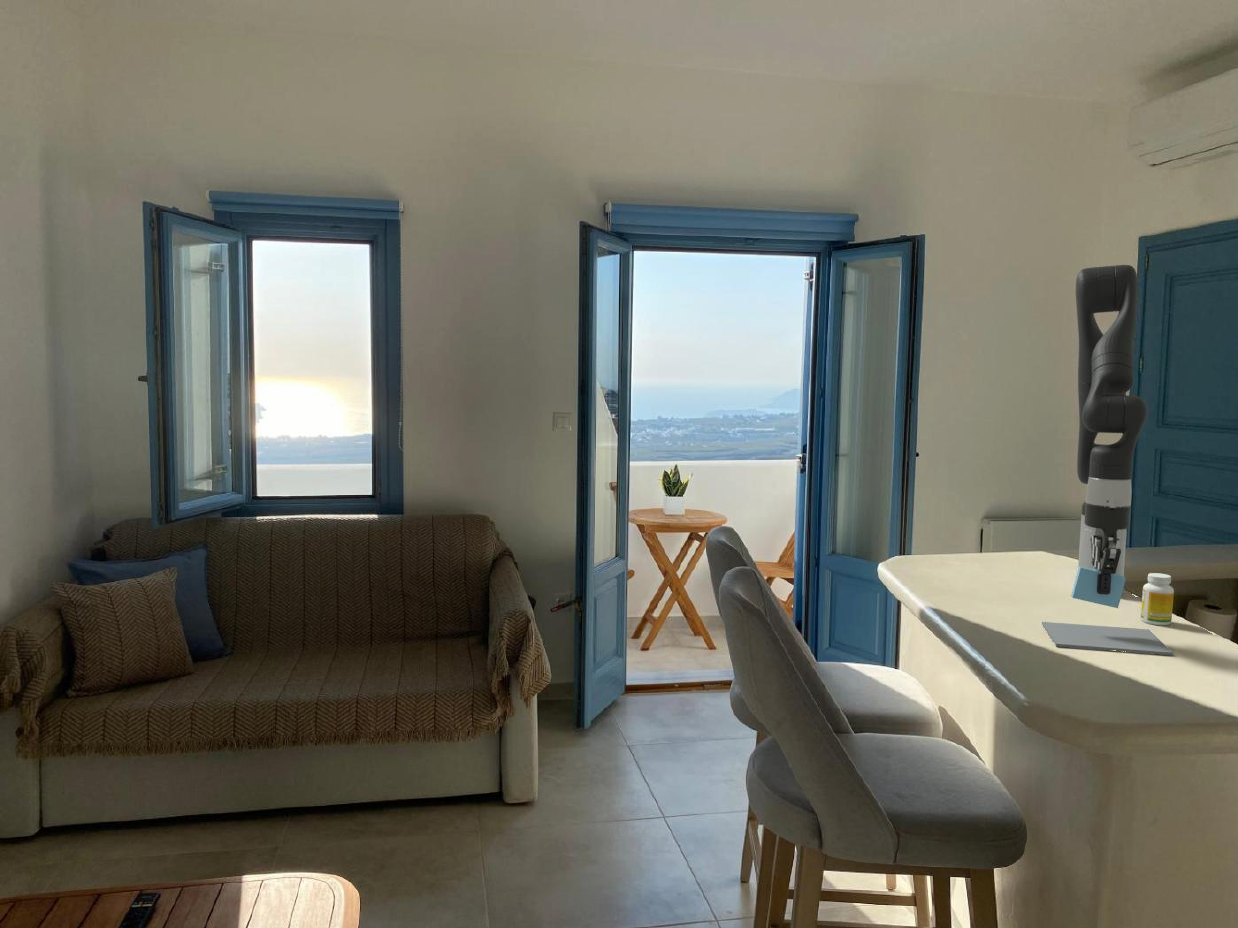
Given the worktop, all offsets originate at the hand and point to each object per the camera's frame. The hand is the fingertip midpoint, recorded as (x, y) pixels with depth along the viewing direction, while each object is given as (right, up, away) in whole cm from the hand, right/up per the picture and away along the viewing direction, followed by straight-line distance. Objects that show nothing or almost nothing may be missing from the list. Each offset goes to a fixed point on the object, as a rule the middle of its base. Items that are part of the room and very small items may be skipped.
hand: (1102, 592), depth 178 cm
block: (-1, -2, +1) cm, 2 cm away
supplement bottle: (+16, -8, +10) cm, 20 cm away
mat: (-1, -9, -2) cm, 9 cm away
